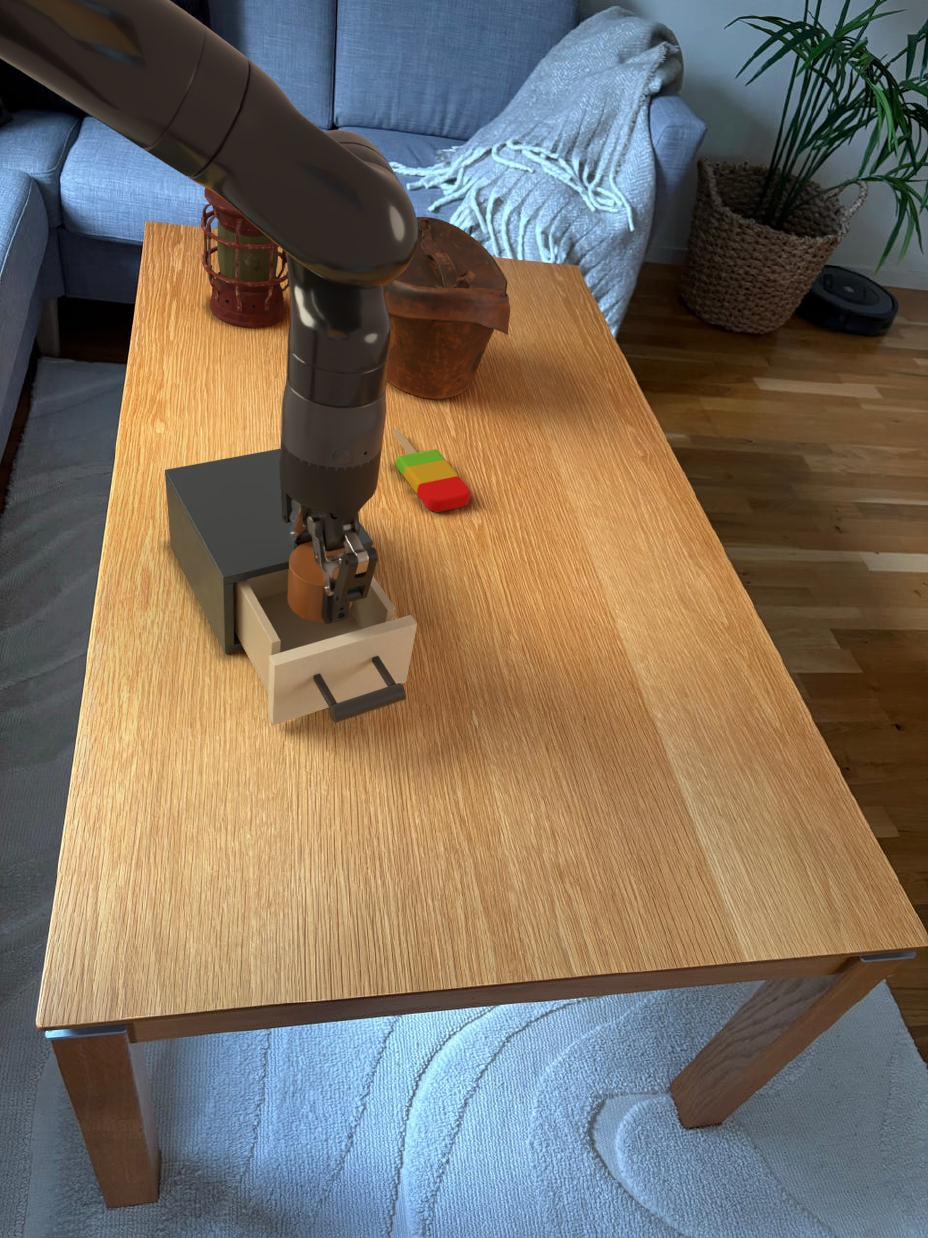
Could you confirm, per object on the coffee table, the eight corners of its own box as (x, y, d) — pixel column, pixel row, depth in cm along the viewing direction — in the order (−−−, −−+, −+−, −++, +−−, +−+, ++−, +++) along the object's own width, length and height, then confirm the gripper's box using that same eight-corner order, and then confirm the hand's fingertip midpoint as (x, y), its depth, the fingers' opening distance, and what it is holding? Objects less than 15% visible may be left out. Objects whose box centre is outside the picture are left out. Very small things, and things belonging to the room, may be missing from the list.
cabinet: (364, 614, 92) (373, 541, 85) (225, 654, 86) (223, 577, 79) (300, 517, 101) (304, 443, 94) (170, 546, 94) (164, 469, 87)
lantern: (281, 338, 126) (288, 98, 105) (192, 321, 125) (180, 76, 104) (299, 297, 135) (309, 68, 114) (216, 281, 134) (210, 48, 113)
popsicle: (431, 515, 105) (433, 502, 103) (374, 440, 113) (375, 427, 112) (472, 506, 107) (475, 493, 106) (414, 433, 116) (416, 420, 114)
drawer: (431, 721, 83) (445, 663, 77) (295, 769, 77) (299, 710, 71) (340, 579, 94) (345, 520, 88) (214, 612, 88) (212, 550, 82)
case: (454, 433, 117) (479, 301, 104) (328, 369, 122) (337, 236, 110) (521, 380, 129) (551, 255, 116) (403, 324, 134) (419, 199, 122)
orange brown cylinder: (302, 629, 78) (305, 592, 75) (277, 585, 81) (278, 548, 78) (362, 612, 80) (367, 576, 77) (336, 571, 83) (339, 534, 80)
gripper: (422, 481, 66) (395, 640, 78) (338, 375, 74) (325, 534, 86) (325, 501, 63) (313, 665, 75) (248, 388, 71) (247, 552, 82)
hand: (319, 594), depth 80 cm, fingers closed on orange brown cylinder, 5 cm apart
